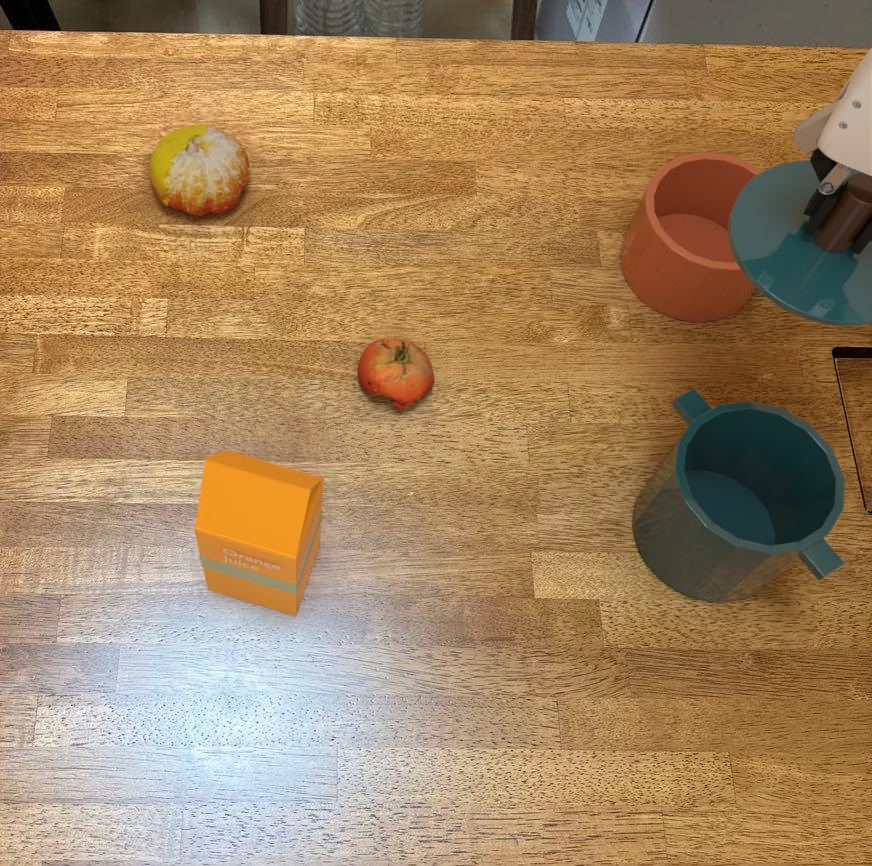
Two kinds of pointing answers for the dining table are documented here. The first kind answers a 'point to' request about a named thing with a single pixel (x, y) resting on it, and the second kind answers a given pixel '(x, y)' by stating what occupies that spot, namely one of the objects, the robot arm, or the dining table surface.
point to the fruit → (199, 170)
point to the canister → (688, 239)
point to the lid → (805, 245)
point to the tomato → (396, 371)
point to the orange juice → (258, 529)
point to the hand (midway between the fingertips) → (837, 229)
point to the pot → (739, 501)
